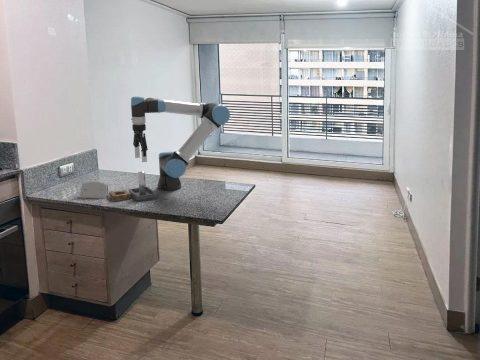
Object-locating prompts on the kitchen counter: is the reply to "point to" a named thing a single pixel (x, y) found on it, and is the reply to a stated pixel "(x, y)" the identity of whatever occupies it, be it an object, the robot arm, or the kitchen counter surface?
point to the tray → (149, 195)
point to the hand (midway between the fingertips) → (141, 159)
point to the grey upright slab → (94, 190)
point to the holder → (119, 195)
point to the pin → (142, 183)
